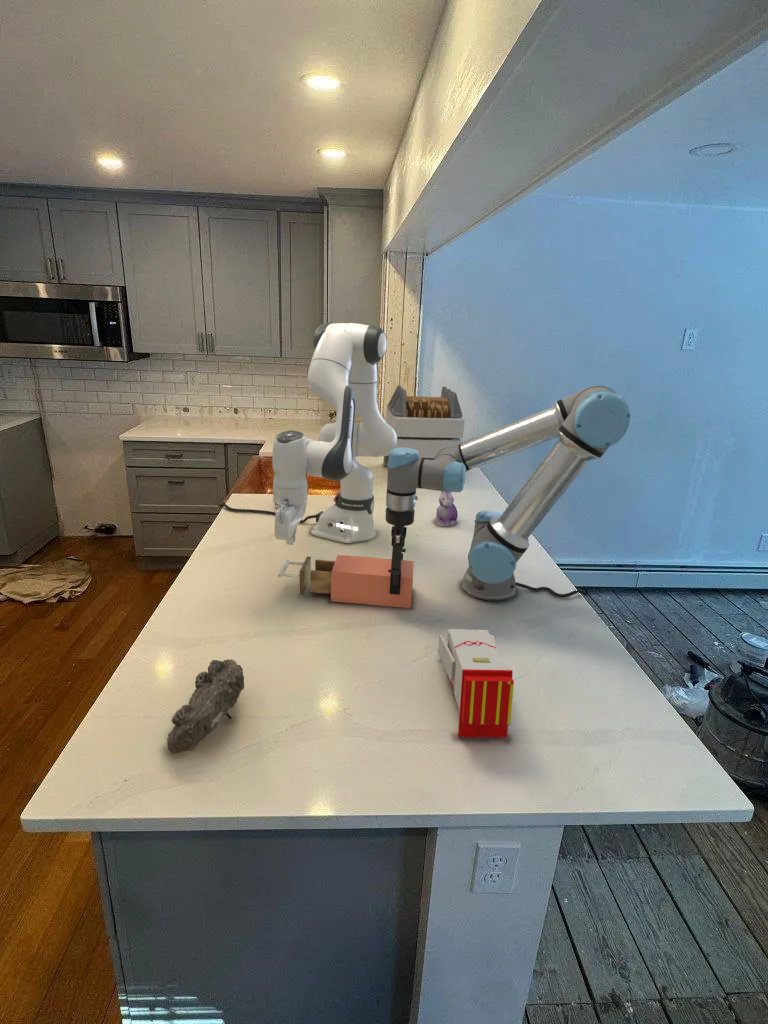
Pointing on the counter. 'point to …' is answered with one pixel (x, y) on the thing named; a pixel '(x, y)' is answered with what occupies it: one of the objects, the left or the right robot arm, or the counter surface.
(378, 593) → the tall pink open box
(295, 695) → the counter surface
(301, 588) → the drawer
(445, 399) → the transformer
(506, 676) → the toy
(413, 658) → the counter surface
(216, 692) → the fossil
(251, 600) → the counter surface
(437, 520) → the figurine
